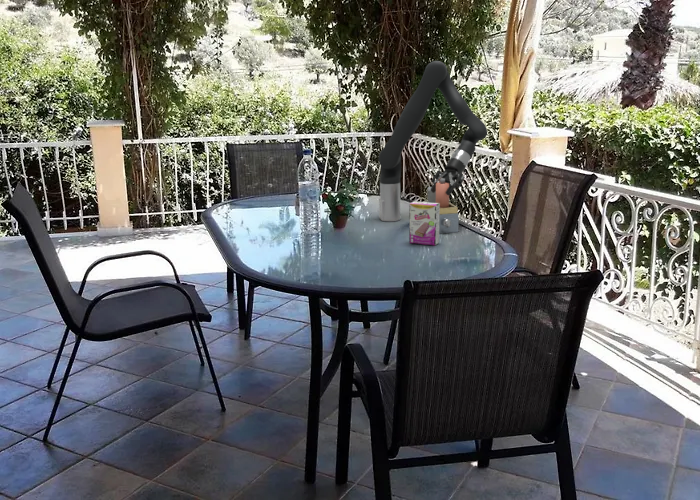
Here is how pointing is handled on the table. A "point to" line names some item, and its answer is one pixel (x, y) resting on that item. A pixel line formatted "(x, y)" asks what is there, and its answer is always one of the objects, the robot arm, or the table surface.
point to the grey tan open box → (448, 219)
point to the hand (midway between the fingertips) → (439, 192)
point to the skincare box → (431, 196)
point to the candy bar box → (424, 223)
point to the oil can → (442, 193)
